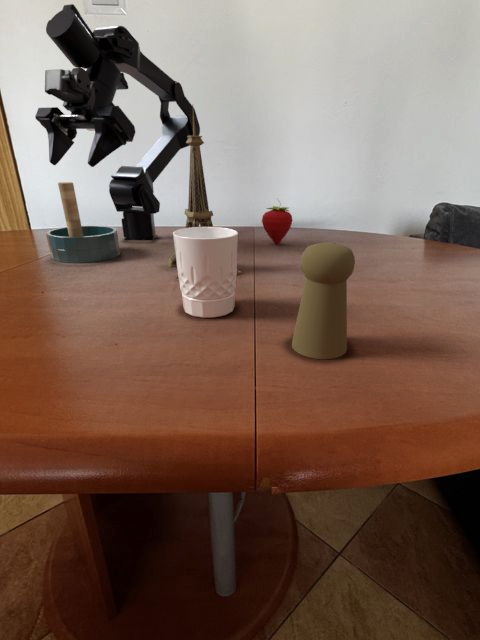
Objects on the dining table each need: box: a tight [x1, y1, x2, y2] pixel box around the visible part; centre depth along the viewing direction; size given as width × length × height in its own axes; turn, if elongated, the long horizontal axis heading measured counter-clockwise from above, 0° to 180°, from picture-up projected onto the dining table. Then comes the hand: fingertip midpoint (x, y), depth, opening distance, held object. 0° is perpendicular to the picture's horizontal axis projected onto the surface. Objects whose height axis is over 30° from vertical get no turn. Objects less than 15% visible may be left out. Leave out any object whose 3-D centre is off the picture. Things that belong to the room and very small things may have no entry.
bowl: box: [45, 225, 121, 264], centre depth 72 cm, size 12×12×5 cm
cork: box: [291, 242, 356, 360], centre depth 39 cm, size 6×6×11 cm
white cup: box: [172, 226, 239, 319], centre depth 48 cm, size 8×8×10 cm
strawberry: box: [261, 199, 293, 245], centre depth 86 cm, size 6×8×10 cm
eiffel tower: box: [165, 110, 243, 279], centre depth 62 cm, size 11×11×25 cm
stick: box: [57, 181, 83, 237], centre depth 68 cm, size 4×4×13 cm
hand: (70, 164), depth 68 cm, fingers open, 9 cm apart
